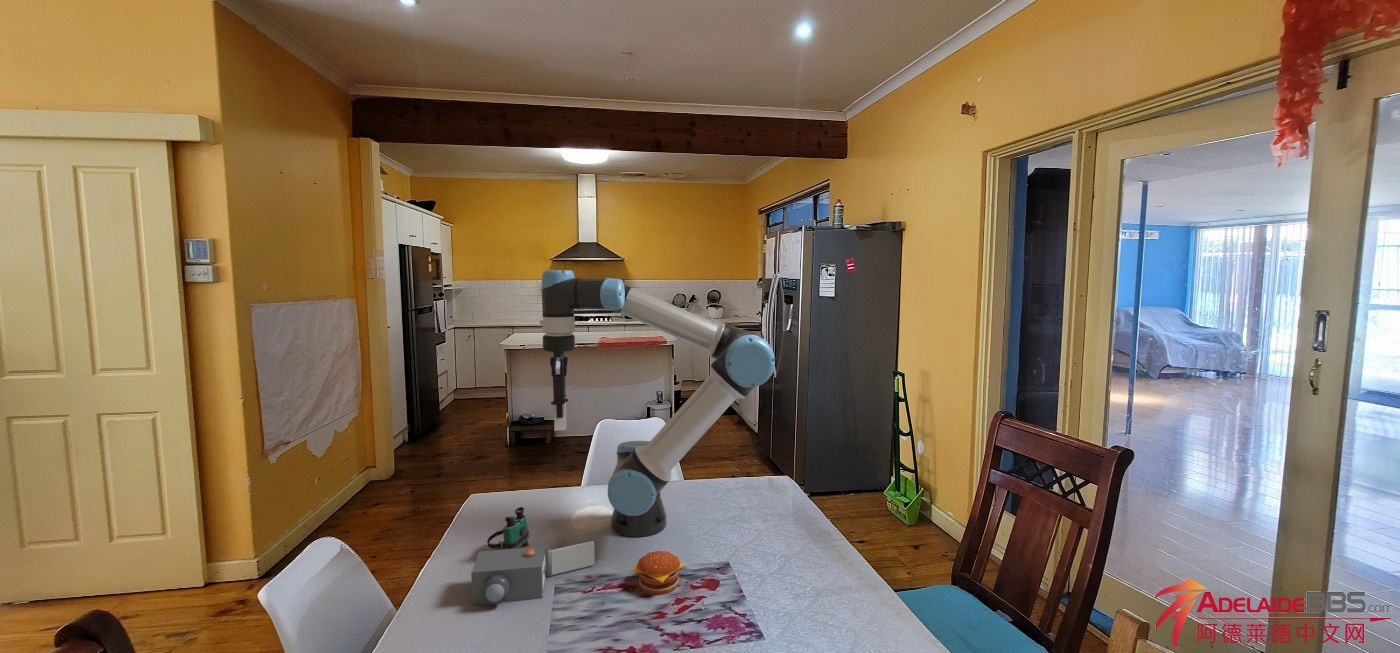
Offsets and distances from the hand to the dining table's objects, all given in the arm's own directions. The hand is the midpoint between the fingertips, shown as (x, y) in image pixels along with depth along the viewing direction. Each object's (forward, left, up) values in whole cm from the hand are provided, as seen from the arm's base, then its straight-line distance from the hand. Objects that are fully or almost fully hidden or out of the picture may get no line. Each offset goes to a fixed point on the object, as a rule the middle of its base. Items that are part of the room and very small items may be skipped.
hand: (560, 429), depth 137 cm
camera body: (+10, +18, -30) cm, 37 cm away
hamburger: (-22, +20, -31) cm, 43 cm away
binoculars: (+13, 0, -31) cm, 33 cm away
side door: (-3, +11, -30) cm, 32 cm away
